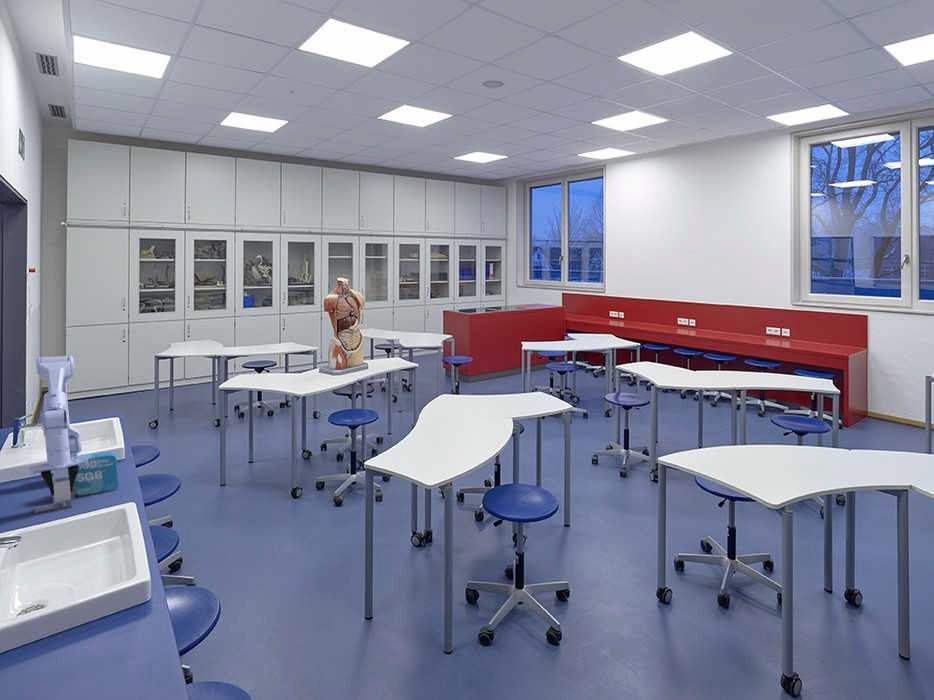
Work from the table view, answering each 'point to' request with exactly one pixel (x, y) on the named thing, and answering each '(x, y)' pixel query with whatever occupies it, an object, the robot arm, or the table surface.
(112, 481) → the data package
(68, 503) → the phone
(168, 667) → the table surface
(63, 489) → the metal plug
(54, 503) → the socket rails
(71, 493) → the cube
